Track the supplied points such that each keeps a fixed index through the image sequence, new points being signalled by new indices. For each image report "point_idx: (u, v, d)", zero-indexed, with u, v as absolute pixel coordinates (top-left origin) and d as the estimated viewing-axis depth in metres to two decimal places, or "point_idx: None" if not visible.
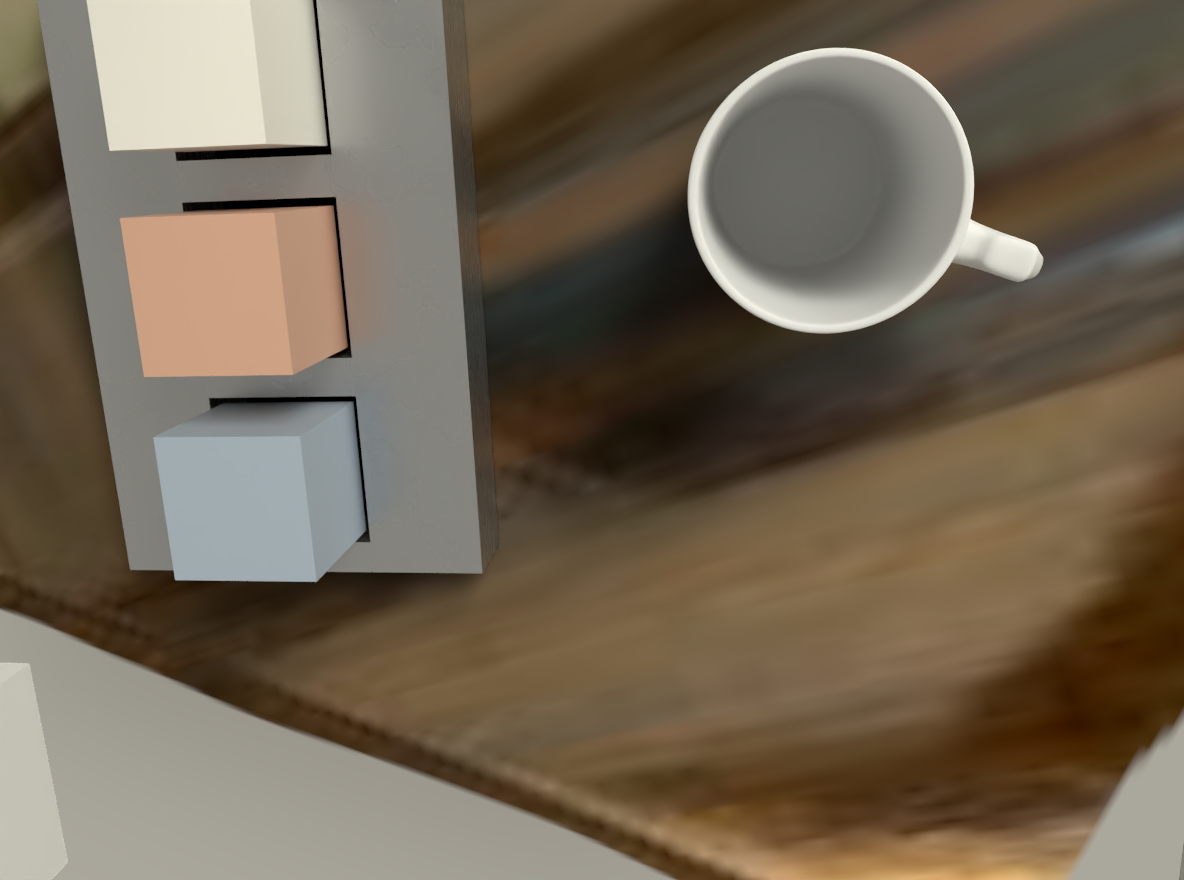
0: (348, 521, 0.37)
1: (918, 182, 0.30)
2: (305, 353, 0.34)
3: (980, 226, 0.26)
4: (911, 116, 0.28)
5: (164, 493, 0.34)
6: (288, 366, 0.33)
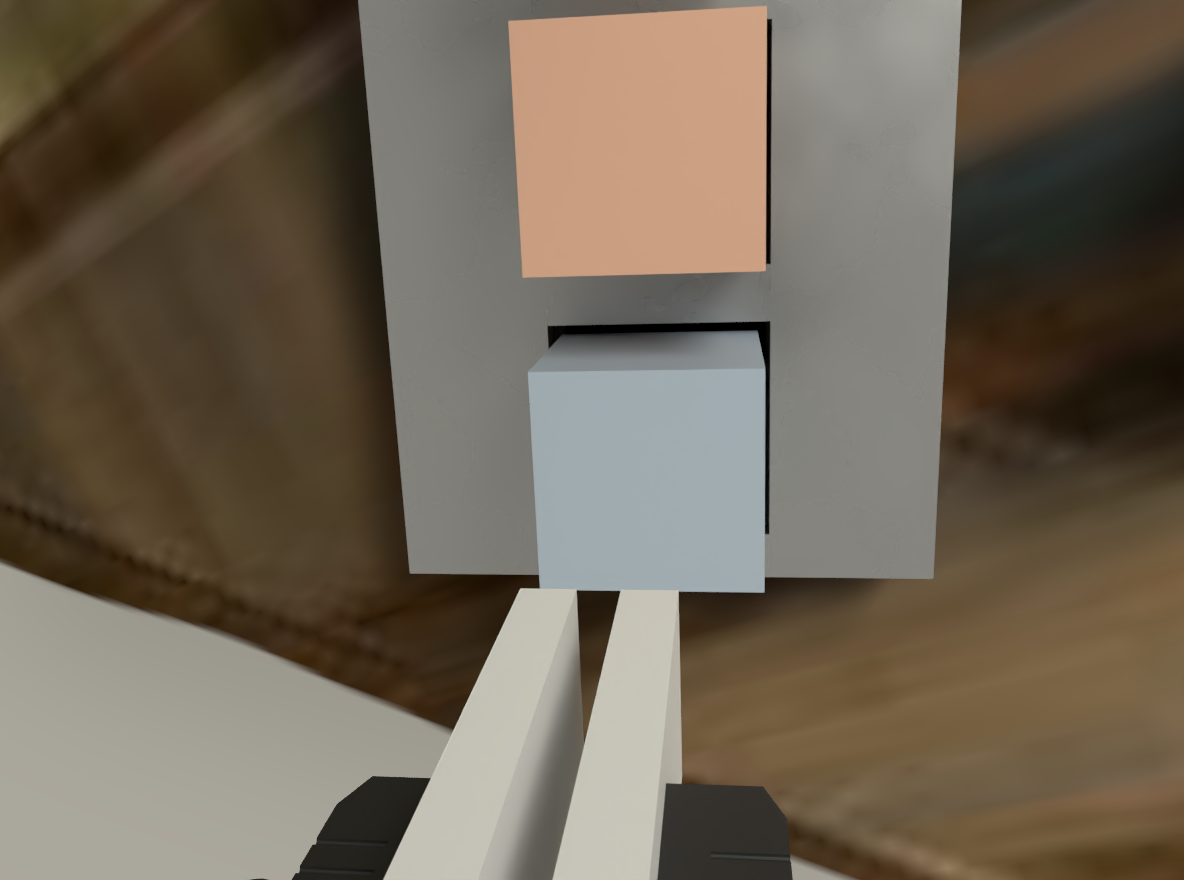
0: None
1: None
2: None
3: None
4: None
5: (536, 458, 0.23)
6: (759, 258, 0.21)
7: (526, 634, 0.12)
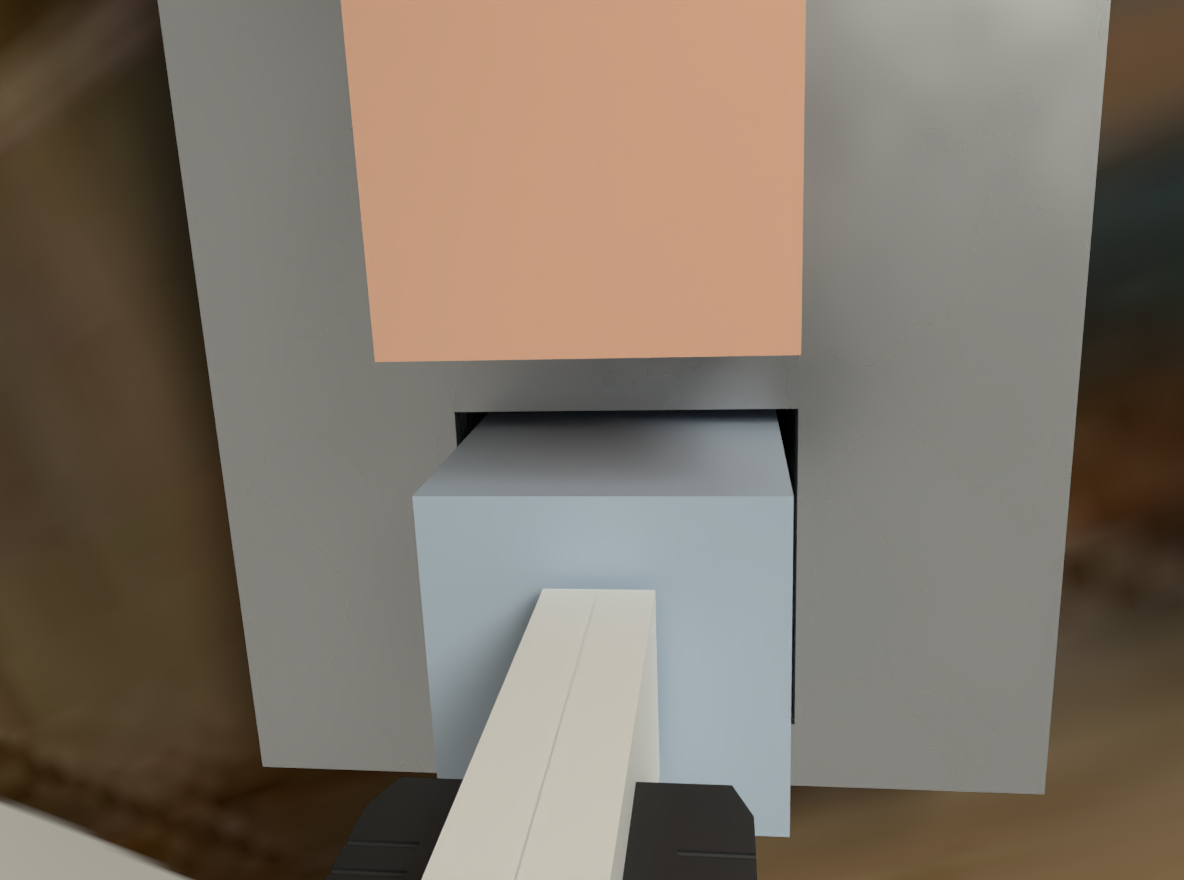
0: None
1: None
2: None
3: None
4: None
5: (430, 628, 0.14)
6: (789, 331, 0.12)
7: (550, 634, 0.12)
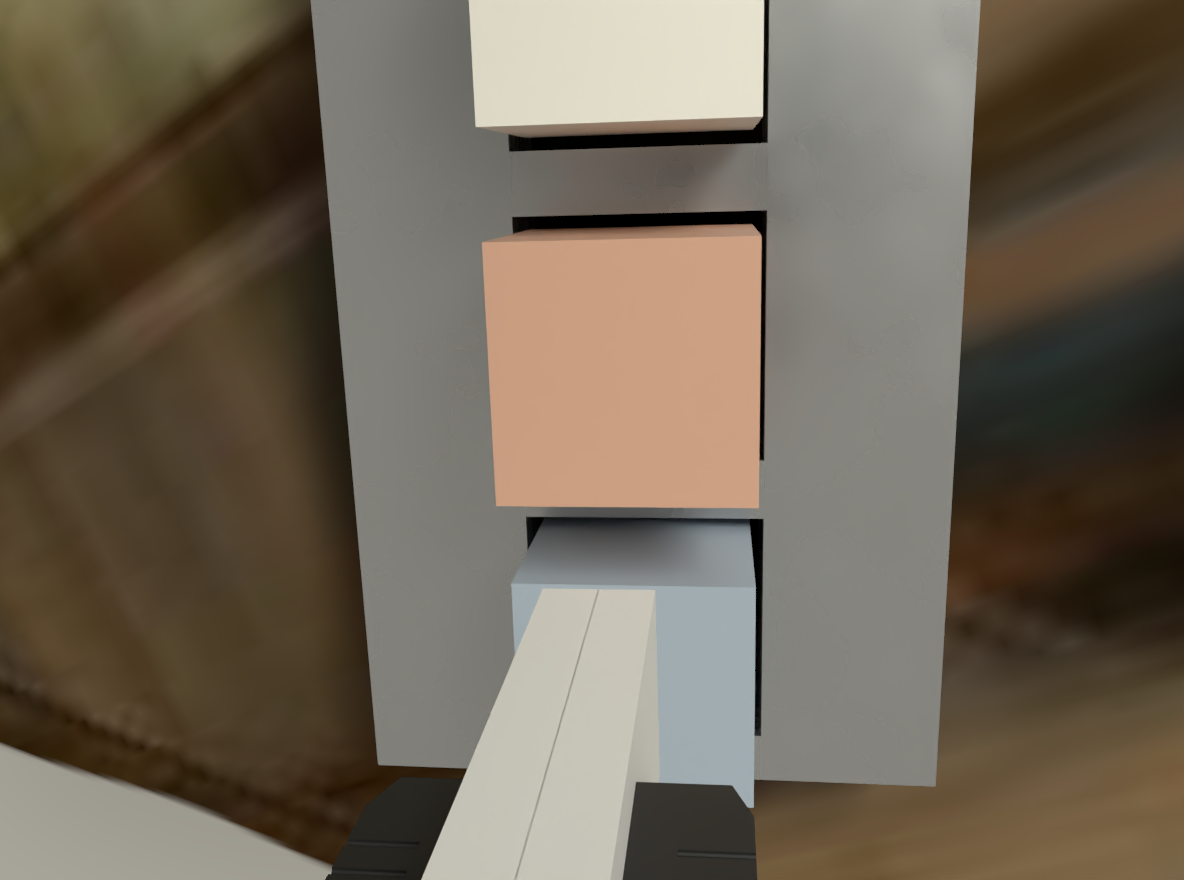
0: None
1: None
2: None
3: None
4: None
5: None
6: (751, 494, 0.19)
7: (550, 634, 0.12)
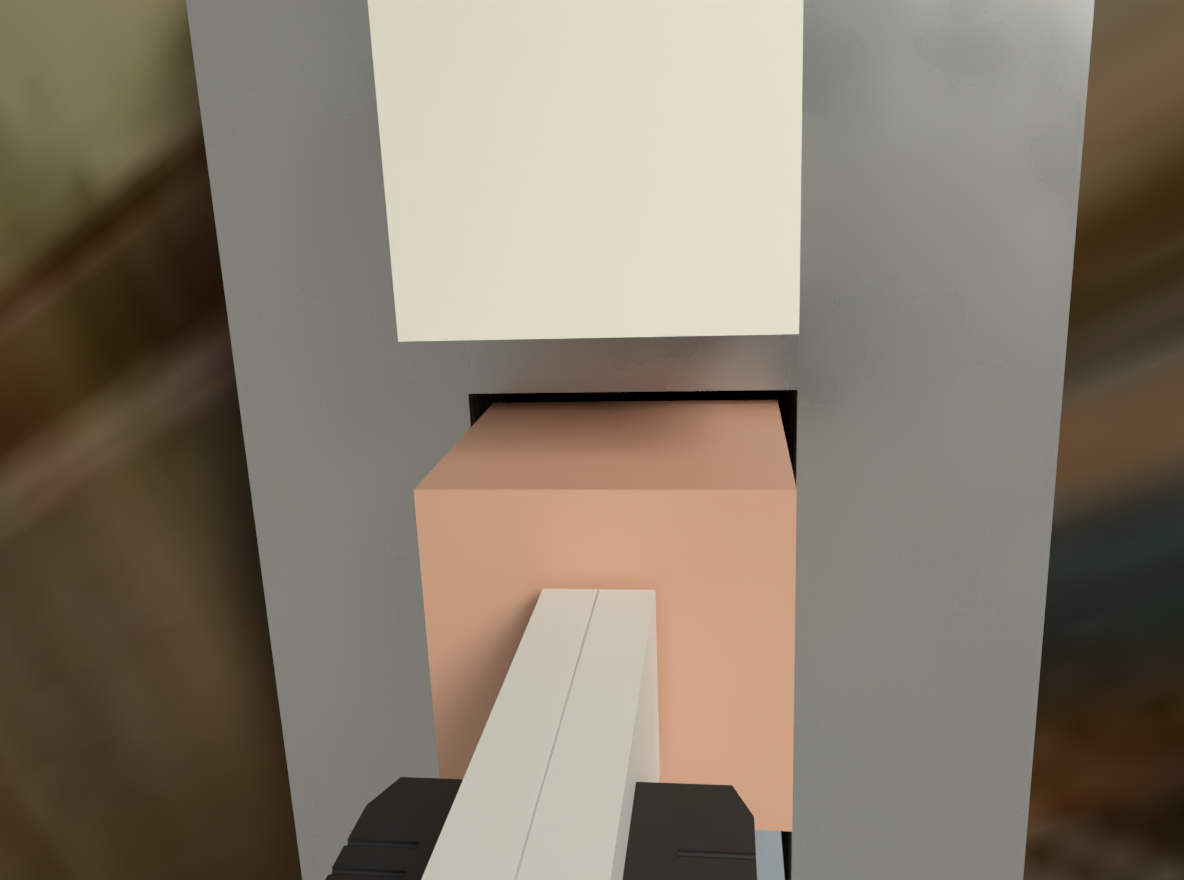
0: None
1: None
2: None
3: None
4: None
5: None
6: (782, 812, 0.14)
7: (550, 634, 0.12)
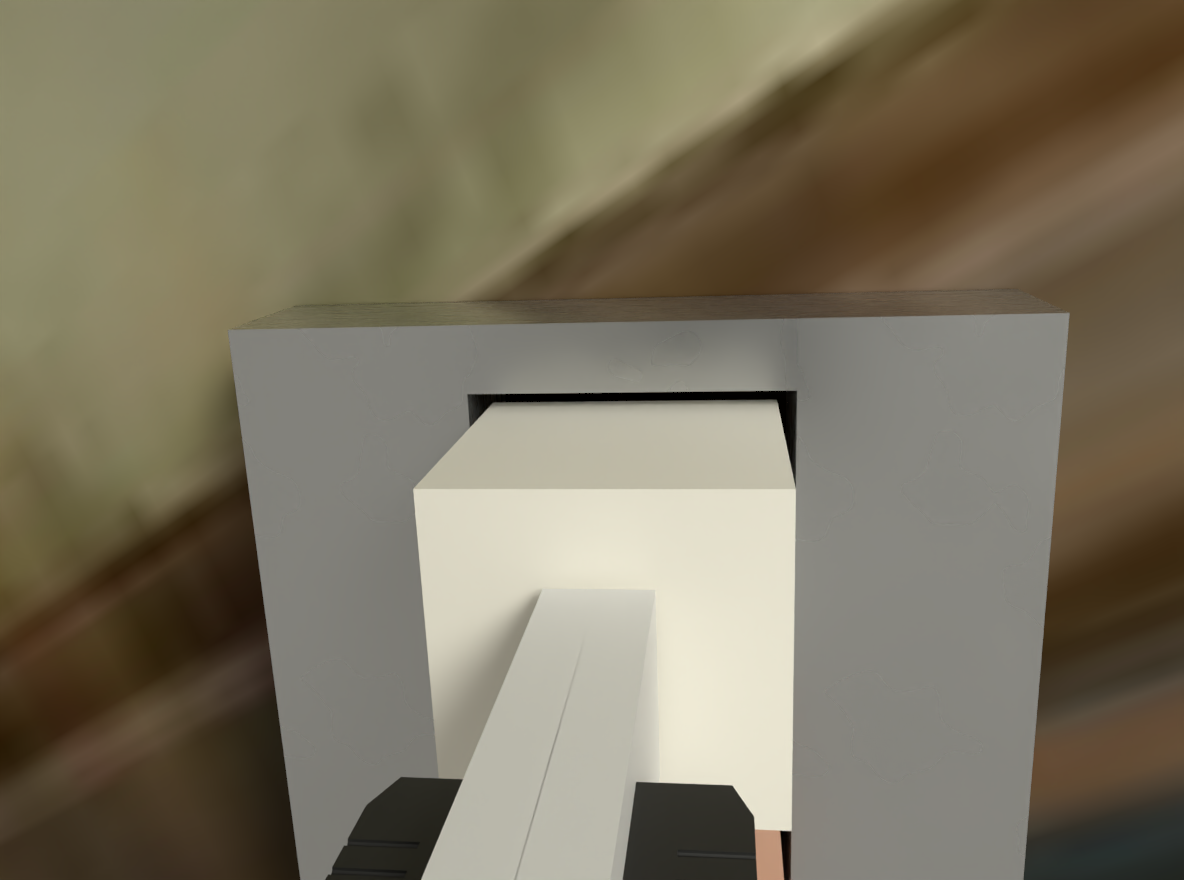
0: None
1: None
2: None
3: None
4: None
5: None
6: None
7: (550, 635, 0.12)
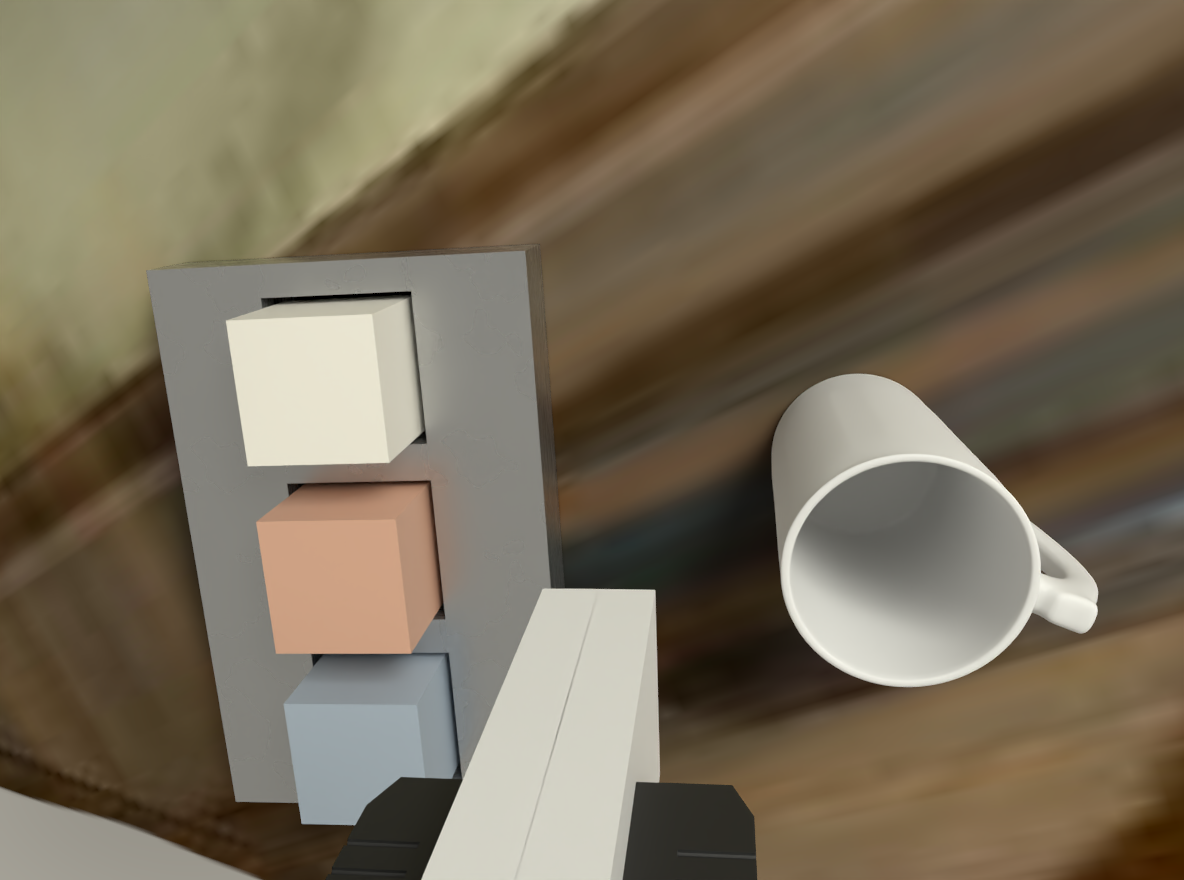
0: (451, 754, 0.41)
1: (979, 505, 0.32)
2: (419, 627, 0.37)
3: (1043, 581, 0.29)
4: None
5: (293, 750, 0.38)
6: (407, 646, 0.36)
7: (550, 634, 0.12)
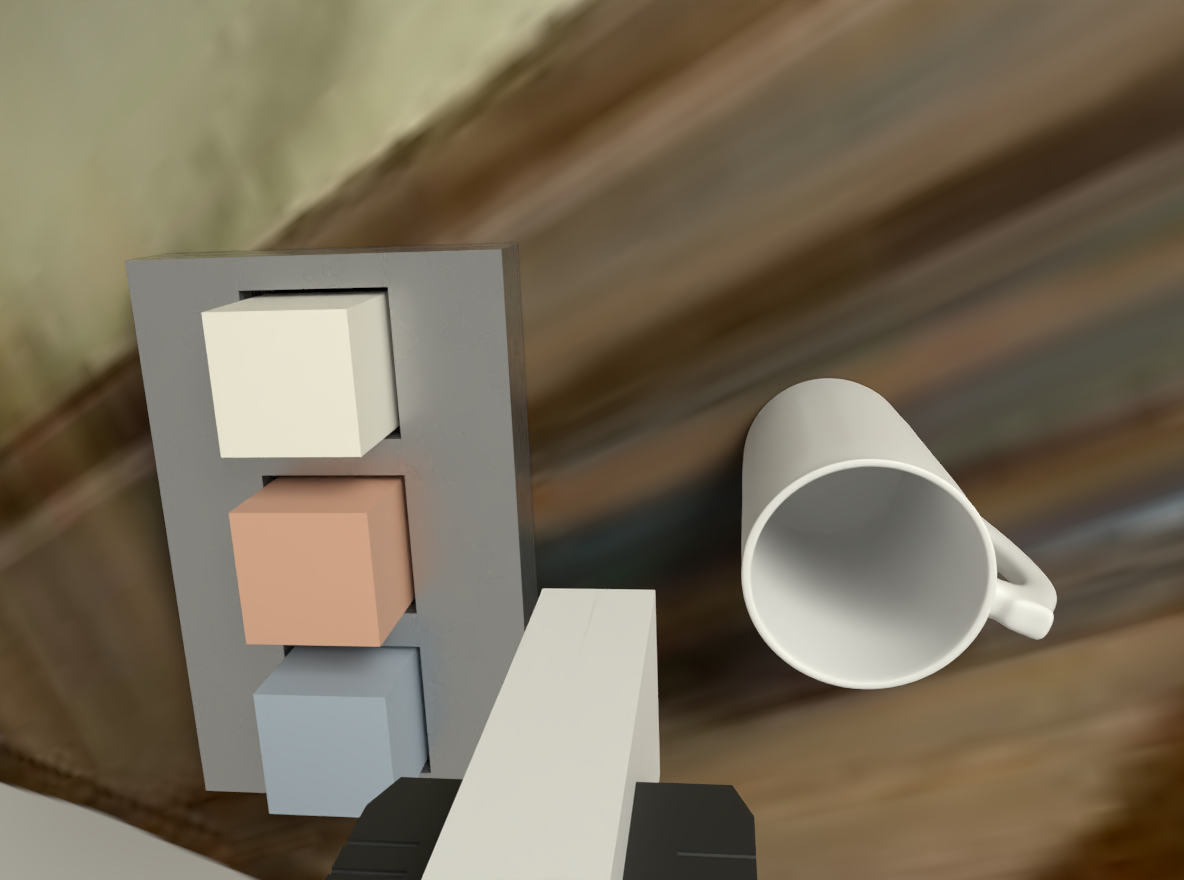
0: (420, 748, 0.41)
1: (943, 511, 0.33)
2: (389, 620, 0.38)
3: (1001, 587, 0.30)
4: None
5: (261, 741, 0.38)
6: (376, 639, 0.37)
7: (550, 635, 0.12)
